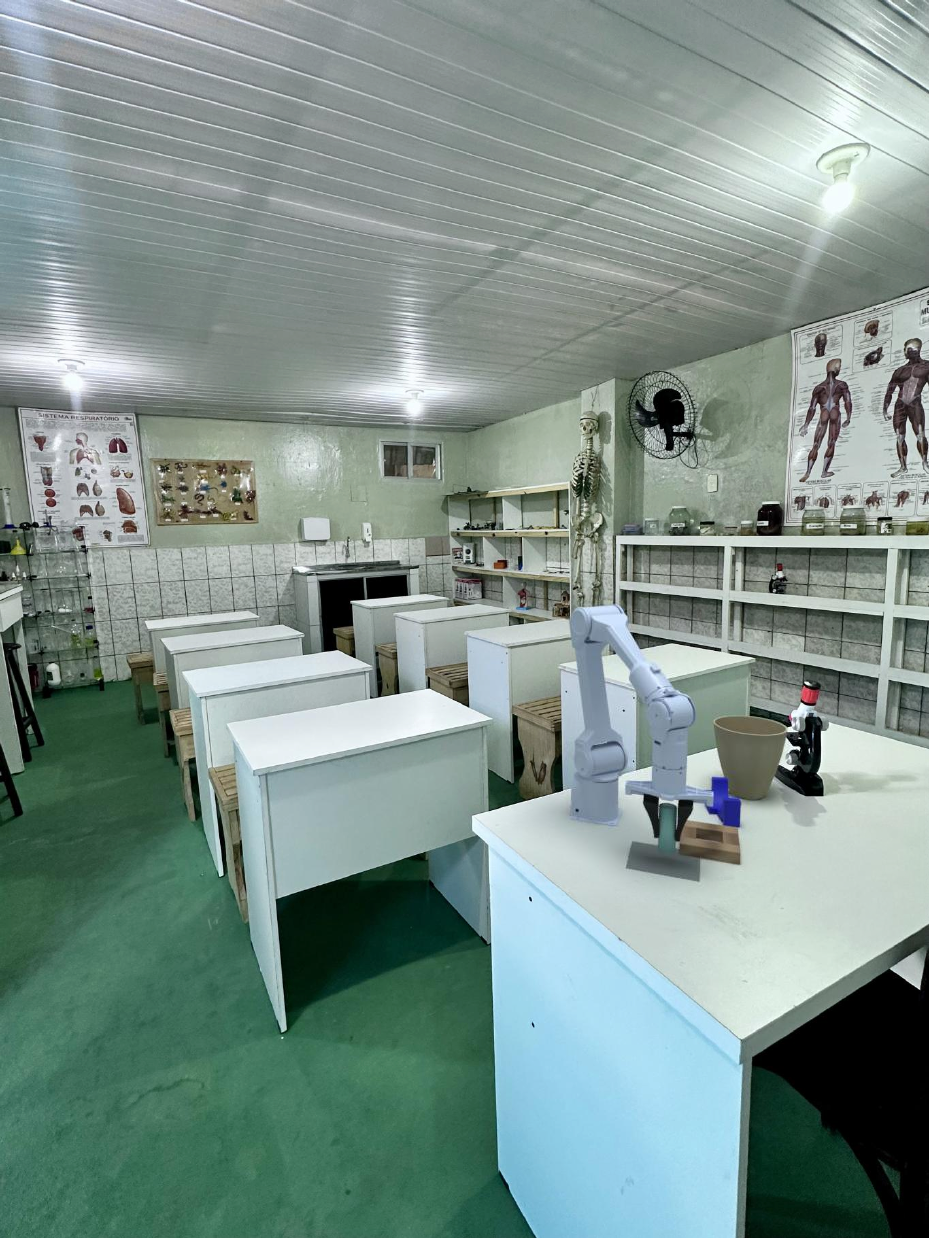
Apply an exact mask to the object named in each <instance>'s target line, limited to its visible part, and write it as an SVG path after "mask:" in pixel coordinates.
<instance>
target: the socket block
mask: <svg viewBox="0 0 929 1238" xmlns="http://www.w3.org/2000/svg"><path fill="white" fill-rule="evenodd" d="M738 828H739V827H730V826H724V825H723V824H715V823H708V822H703V821H697V820H696V821H695V820H688V819H687V821H686V823H685V825H684V828H683V830H682V833H681V837H680V842H679V849H680V851H679V854H681V855H687V856H692V857H698V858H700V859H703V860H710V861H715V862H721V863H727V864H733V865H738V866H739V865H741V854H742V853H741V845H740V836H739V835H740V834H739V829H738Z"/></svg>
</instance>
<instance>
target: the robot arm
mask: <svg viewBox="0 0 929 1238" xmlns="http://www.w3.org/2000/svg"><path fill="white" fill-rule="evenodd" d="M568 624H569V631H570V632H569V633H570V639H571V647H572V648H573V649H574V654H575V659H576V660H575V661H576V668H577V675H578V685H579V692H580V700H581V707H582V716H583V724H584V730H583V731H582V732H581V733H580V734H579V736H578V737H577V738H575V740H574V754H573V763H574V767H575V769H576V772H575V771H574V773H573V774H572V779H571V788H570V790H571V791H570V801H571V802H570V820H573V821H578V822H579V821H580V822H585V823H593V824H598V825H603V826H611V827H617V826H618V825H619V821H620V819H621V816H622V812H623V809H622V808H620V807H619V778H620V777H622V776H623V775H622V772H623V771H625V770H626V769H627V767H628V762H629V756H628V752H627V749H626V747H625V745H624V742H623V735H621V734H620V733H618V732H617V731H616V730H614V729H613V728H612V726H611V719H610V717H611V716H610V711H609V704H608V695H607V694H608V693H607V686H606V680H605V679H606V677H605V671H604V664H603V656H602V652H603V650H604V649H605V647H607V645H610V648H611V649H612V650H613V651H614V652H615V653H616V654H617V656H618V657H619V658H620V660H621V661H622V662H623V664H624V665H625V666H626V668H627V669H628V670H629V676H628V680H629V683H630V684H631V686H632V687H633V689H634V690H635V692H636V693H637V695H638V696H639V698H640V699H641V701H642V702H643V703H644V706H645V707H646V708H647V709H646V710H645V717H646V721H647V723H648V726H649V735H650V738H651V740H652V750H651V751H652V754H651V758H652V761H651V780H628V779H627V780H626V781H625V785H624V787H625V788H624V789H625V790H624V791H625V793H624V794H625V795H627V796H631V795H636V796H637V795H639V796H643V798H642V799H643V800H642V804H643V805H642V806H643V808H644V809H645V812H646V814H647V817H648V818H649V821H650V824H651V827H652V828H651V829H652V831H653V838H654V839H658V826H659V804H660V800H662V801H666V802H674V801H677V826H676V843H680V837H681V833H682V830H683V828H684V825H685V823H686V821H687V820H688V819H689V817H690V816H691V815H692V813H693V812H694V804H703V805H705V804H706V806H711V807H713V792H712V791H706V790H707V789H701V788H697V787H693V786H690V785H687V769H688V768H687V767H688V744H689V743H688V742H689V739H688V738H689V727H692V726H693V725H694V724H695V722H696V720H697V709H696V705H695V703H694V702H693V700H692V697H690V696H689V695H688V694H685V693H681V691H680V690H679V689H675V688H674V686H673V684H672V683H671V682H670V681H669V679H668V678H667V677H666V674H664V673H663V671H662V669H661V667H660V666H659V664H657V663H655V662H653V661H647V659H646V658H645V656H644V654H643V652H642V651H641V648H639V647H640V646H639V645H638V644H637V642H636V640H635V639H634V637H633V635H632V634H631V632H630V630H629V628H628V627H629V617H628V615H626V613H625V610H624V609H623V608H622V607H621V606H620V605H619V604H611V605H598V606H588V607H587V606H586V607H584V606H579V607H575V609H574V610H573V612H572V613H571V615H570V617H569V620H568ZM706 806H705V807H706Z"/></svg>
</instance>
